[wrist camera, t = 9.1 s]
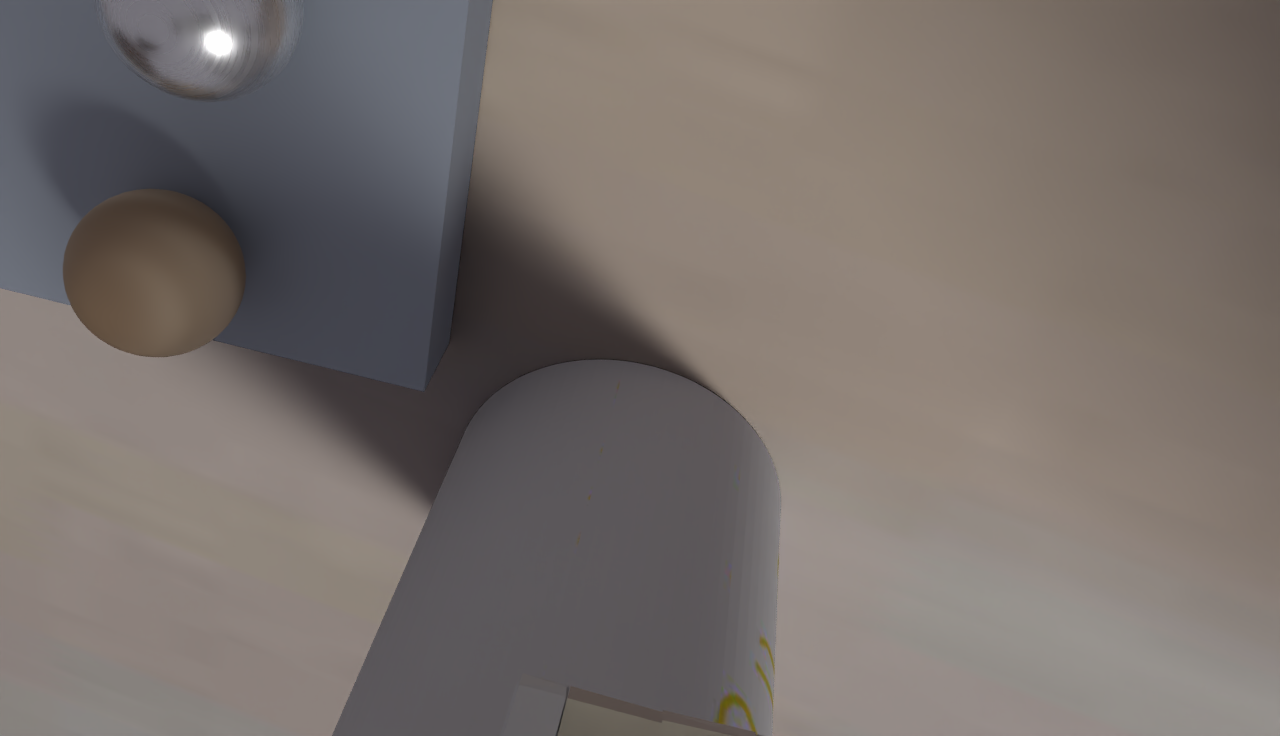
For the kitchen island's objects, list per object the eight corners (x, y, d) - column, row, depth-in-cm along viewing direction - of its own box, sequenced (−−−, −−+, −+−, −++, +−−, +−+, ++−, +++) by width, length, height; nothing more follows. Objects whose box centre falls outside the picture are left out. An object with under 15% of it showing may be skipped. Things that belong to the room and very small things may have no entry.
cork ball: (273, 184, 22) (197, 260, 19) (270, 320, 23) (202, 407, 21) (113, 144, 22) (15, 215, 19) (123, 283, 23) (35, 366, 21)
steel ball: (336, -97, 18) (256, -52, 16) (328, 84, 20) (255, 152, 18) (149, -144, 18) (38, -106, 16) (158, 42, 20) (59, 104, 18)
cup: (700, 652, 30) (644, 1151, 20) (419, 546, 29) (218, 1011, 19) (840, 440, 26) (856, 949, 16) (512, 307, 25) (313, 755, 15)
